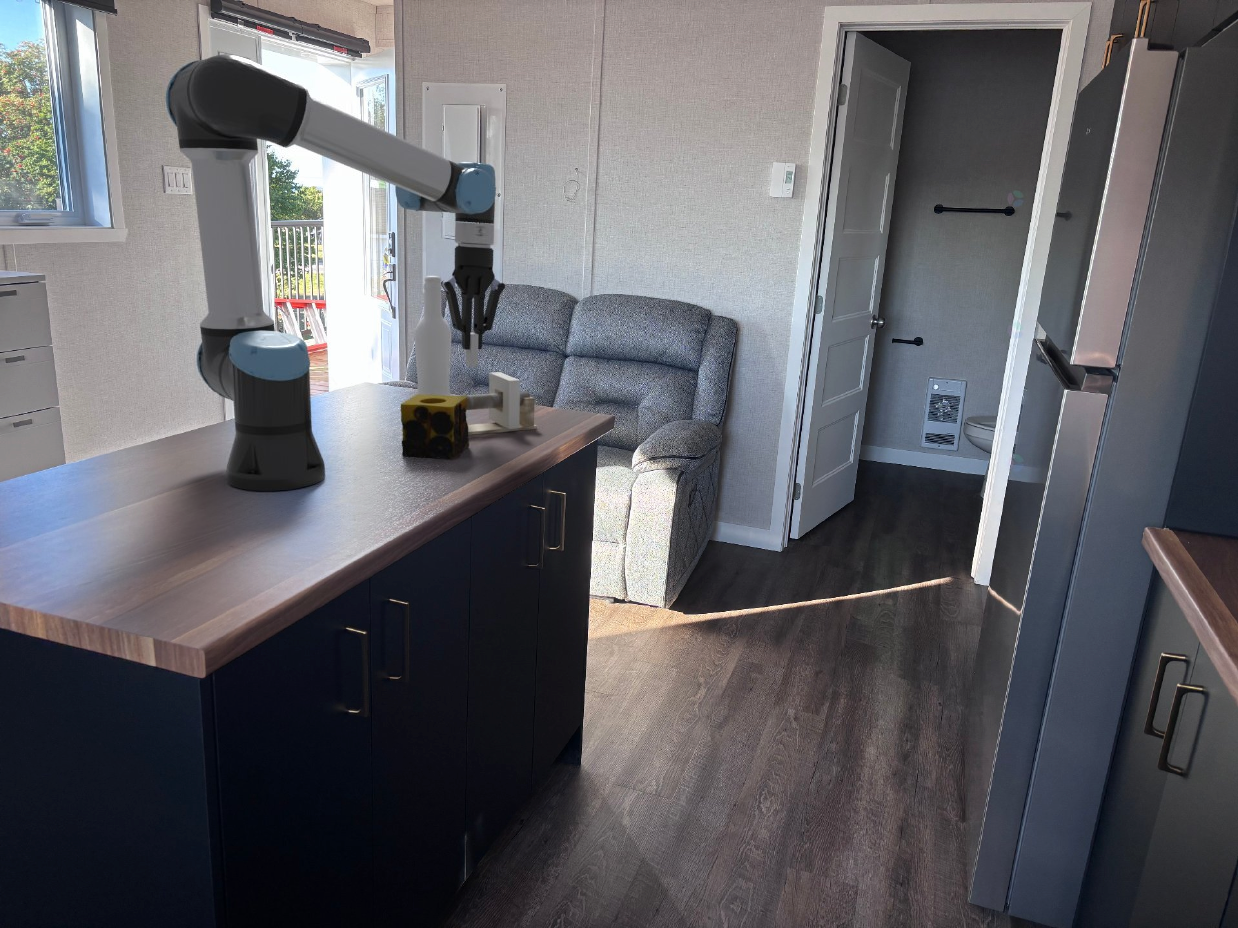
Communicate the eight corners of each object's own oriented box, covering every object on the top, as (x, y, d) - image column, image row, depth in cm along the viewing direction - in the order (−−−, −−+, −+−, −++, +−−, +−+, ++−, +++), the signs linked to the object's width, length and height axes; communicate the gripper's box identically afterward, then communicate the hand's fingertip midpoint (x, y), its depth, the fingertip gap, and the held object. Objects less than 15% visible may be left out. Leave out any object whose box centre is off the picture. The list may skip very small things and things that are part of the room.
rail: (451, 436, 184) (451, 398, 182) (441, 430, 189) (440, 393, 187) (537, 428, 194) (537, 392, 191) (524, 422, 198) (525, 387, 196)
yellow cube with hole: (469, 447, 176) (469, 396, 174) (455, 460, 167) (455, 406, 164) (417, 444, 177) (417, 393, 175) (400, 456, 168) (399, 403, 165)
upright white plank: (508, 429, 188) (509, 380, 185) (488, 419, 196) (489, 372, 193) (519, 428, 189) (519, 380, 186) (499, 418, 197) (499, 372, 195)
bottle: (413, 410, 206) (411, 274, 198) (449, 409, 208) (449, 275, 200) (417, 418, 198) (414, 277, 190) (454, 417, 201) (454, 277, 193)
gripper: (449, 245, 173) (447, 369, 179) (512, 248, 180) (508, 367, 186) (435, 243, 179) (434, 363, 185) (497, 246, 186) (493, 362, 192)
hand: (471, 365), depth 185 cm, fingers closed
